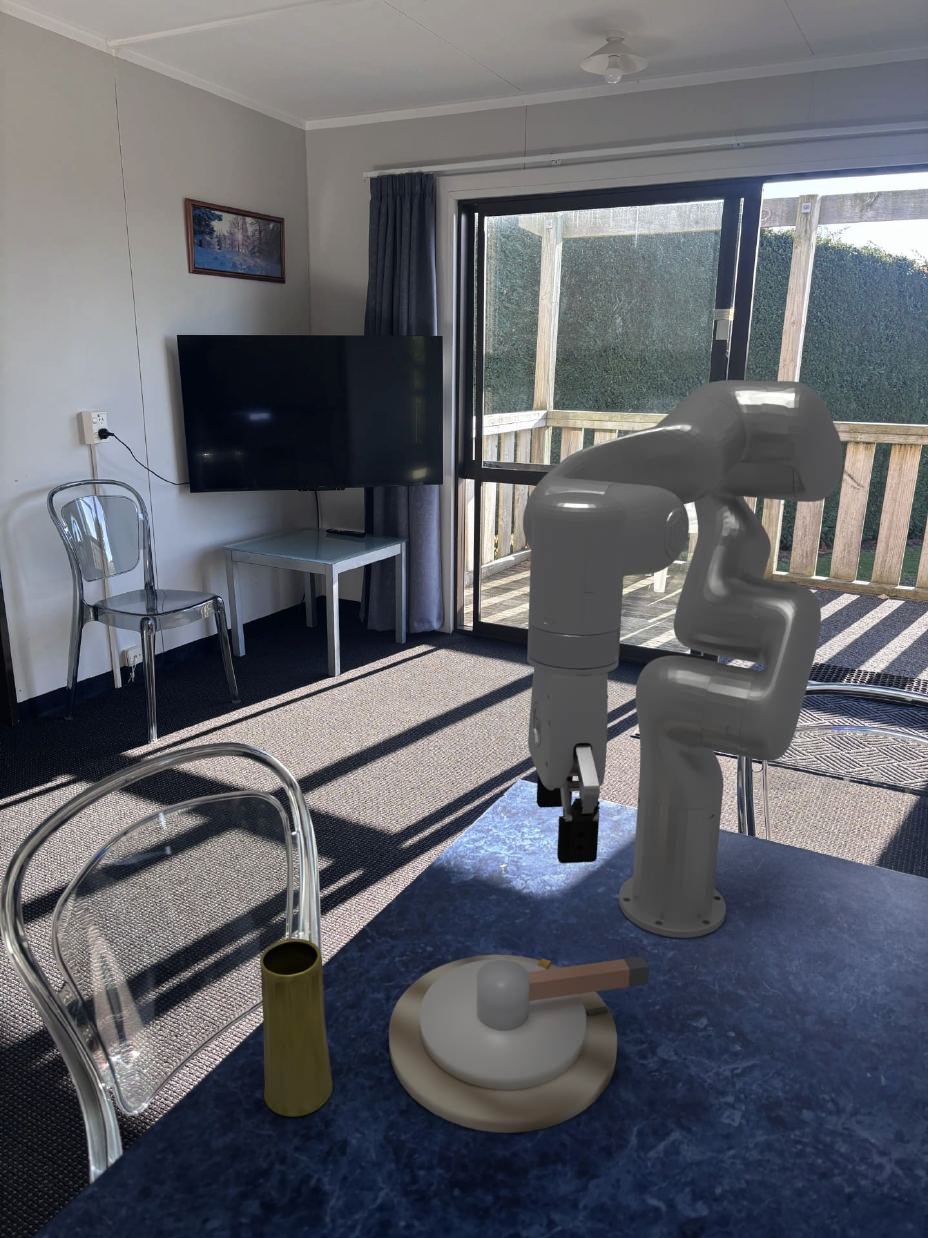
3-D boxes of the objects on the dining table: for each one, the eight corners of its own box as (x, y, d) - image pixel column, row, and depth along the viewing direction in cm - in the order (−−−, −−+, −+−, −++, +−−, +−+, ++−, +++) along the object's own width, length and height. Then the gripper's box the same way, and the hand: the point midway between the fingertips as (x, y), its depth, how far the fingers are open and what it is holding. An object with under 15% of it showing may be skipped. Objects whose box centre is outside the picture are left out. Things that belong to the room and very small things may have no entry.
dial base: (456, 944, 102) (456, 929, 102) (645, 1007, 92) (646, 992, 92) (343, 1075, 83) (342, 1058, 83) (565, 1172, 74) (565, 1154, 73)
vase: (318, 1124, 78) (311, 984, 74) (252, 1112, 79) (242, 974, 75) (341, 1071, 84) (336, 939, 80) (280, 1061, 85) (271, 931, 81)
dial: (436, 1102, 78) (435, 1050, 77) (408, 982, 93) (407, 937, 92) (677, 1063, 83) (681, 1012, 81) (613, 954, 98) (616, 910, 96)
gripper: (512, 617, 82) (507, 789, 87) (547, 680, 66) (539, 888, 70) (593, 616, 83) (584, 786, 87) (648, 678, 66) (634, 884, 71)
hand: (564, 831), depth 79 cm, fingers open, 9 cm apart
